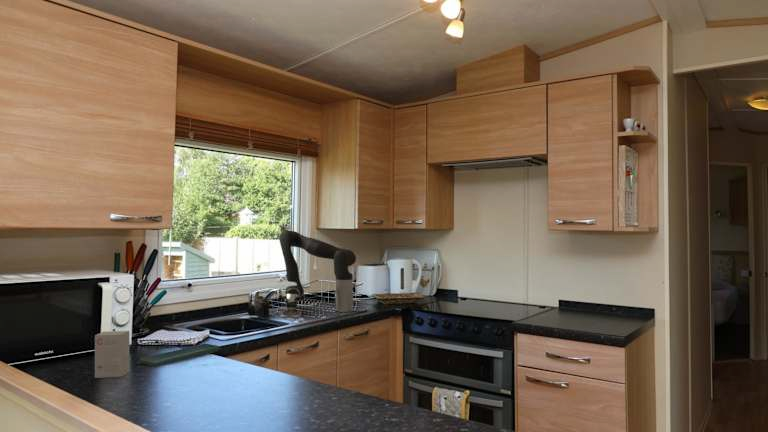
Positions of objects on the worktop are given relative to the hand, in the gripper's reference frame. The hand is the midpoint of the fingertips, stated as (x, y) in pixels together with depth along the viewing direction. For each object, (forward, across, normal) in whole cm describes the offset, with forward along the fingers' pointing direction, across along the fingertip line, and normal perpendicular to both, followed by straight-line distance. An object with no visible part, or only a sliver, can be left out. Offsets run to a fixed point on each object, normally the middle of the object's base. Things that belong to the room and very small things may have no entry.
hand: (290, 299), depth 268 cm
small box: (+102, -48, +9) cm, 113 cm away
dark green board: (+82, -33, +9) cm, 88 cm away
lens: (-2, 0, +8) cm, 8 cm away
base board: (-2, 0, +9) cm, 9 cm away
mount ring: (-2, 0, +9) cm, 9 cm away
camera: (-1, -17, +9) cm, 19 cm away
